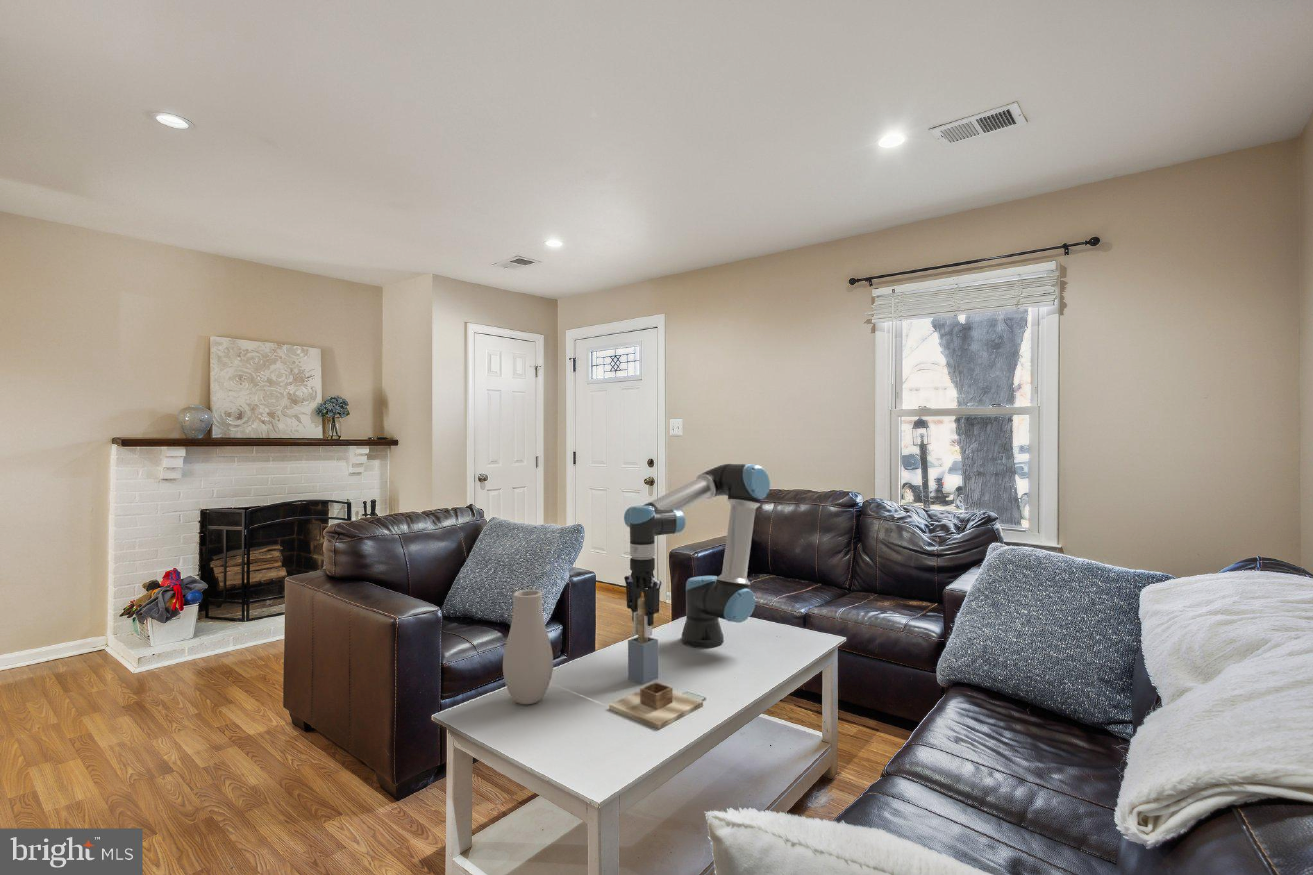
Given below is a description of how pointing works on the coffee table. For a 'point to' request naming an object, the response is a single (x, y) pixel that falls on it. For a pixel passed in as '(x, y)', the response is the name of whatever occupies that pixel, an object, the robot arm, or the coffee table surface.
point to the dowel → (641, 621)
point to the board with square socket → (656, 705)
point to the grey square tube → (643, 660)
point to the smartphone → (694, 696)
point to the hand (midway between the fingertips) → (642, 634)
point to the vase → (527, 650)
